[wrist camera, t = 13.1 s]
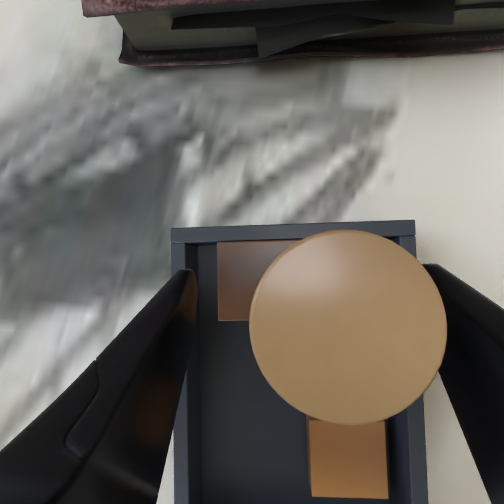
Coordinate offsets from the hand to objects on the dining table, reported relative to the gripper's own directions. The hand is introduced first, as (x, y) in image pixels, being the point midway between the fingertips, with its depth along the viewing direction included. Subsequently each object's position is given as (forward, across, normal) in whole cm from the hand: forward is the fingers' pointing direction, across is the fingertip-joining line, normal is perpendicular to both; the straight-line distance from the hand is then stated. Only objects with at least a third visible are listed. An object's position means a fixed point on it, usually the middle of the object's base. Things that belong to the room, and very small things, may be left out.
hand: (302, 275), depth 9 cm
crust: (-2, -3, +13) cm, 13 cm away
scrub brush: (+5, 0, +6) cm, 8 cm away
